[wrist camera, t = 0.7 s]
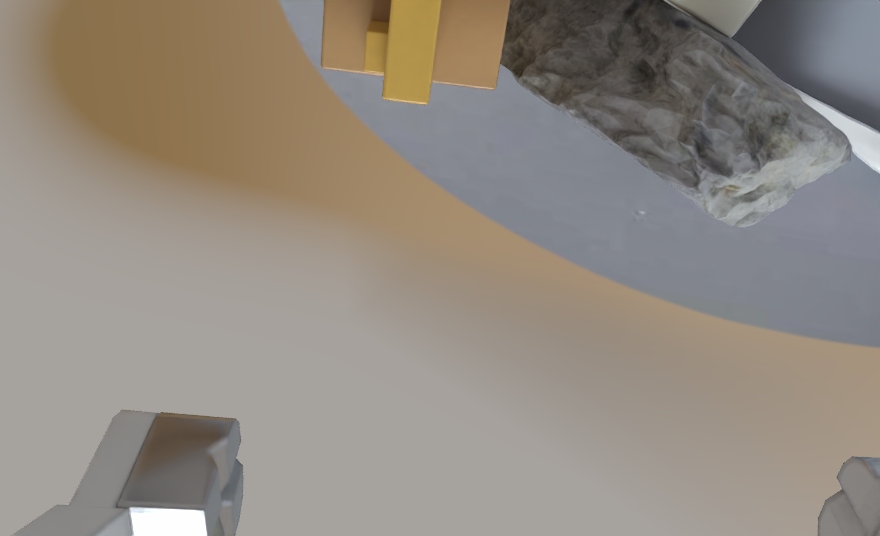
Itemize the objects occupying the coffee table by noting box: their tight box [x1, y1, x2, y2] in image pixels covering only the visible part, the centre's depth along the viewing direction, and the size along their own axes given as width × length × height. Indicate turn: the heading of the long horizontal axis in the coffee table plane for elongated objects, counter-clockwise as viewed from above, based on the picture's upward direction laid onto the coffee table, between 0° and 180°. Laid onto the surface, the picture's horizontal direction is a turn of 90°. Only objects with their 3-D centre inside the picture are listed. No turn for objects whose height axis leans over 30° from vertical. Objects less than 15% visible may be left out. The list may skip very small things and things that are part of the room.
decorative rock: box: [500, 0, 852, 227], centre depth 33 cm, size 16×7×15 cm, turn 54°
